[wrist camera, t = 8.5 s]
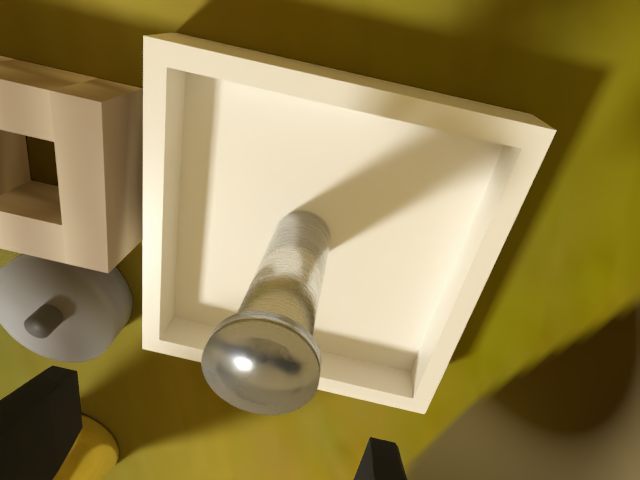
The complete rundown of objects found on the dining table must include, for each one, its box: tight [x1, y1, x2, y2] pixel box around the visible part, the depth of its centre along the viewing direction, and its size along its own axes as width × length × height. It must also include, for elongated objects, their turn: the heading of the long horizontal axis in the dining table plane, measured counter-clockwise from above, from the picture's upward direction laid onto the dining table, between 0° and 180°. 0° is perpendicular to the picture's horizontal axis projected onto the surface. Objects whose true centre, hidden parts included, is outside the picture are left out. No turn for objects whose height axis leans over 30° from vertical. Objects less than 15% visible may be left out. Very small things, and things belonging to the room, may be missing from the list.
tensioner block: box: [0, 56, 143, 363], centre depth 19 cm, size 7×14×3 cm, turn 169°
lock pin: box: [201, 211, 331, 415], centre depth 15 cm, size 3×3×8 cm
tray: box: [142, 32, 557, 414], centre depth 18 cm, size 14×14×2 cm
